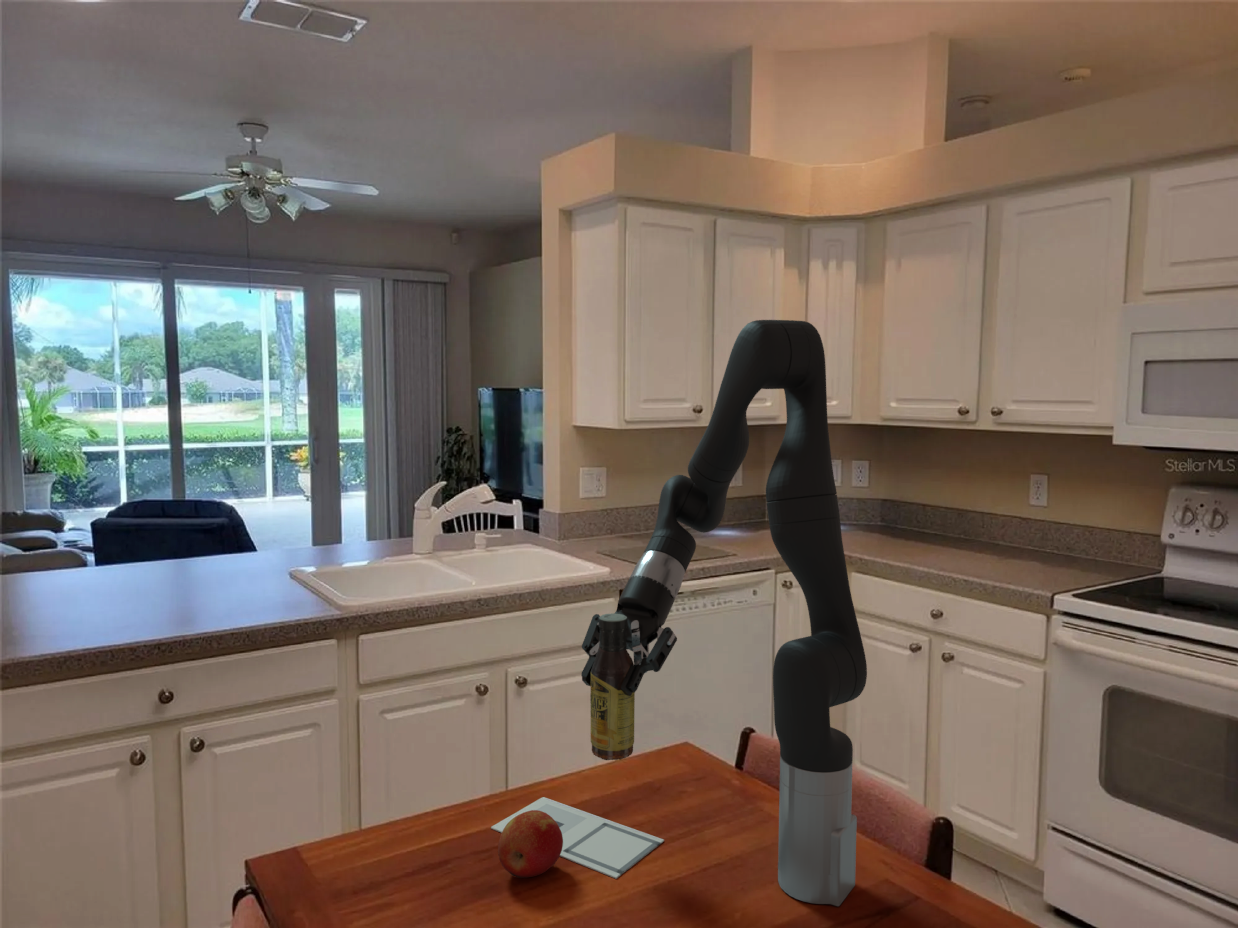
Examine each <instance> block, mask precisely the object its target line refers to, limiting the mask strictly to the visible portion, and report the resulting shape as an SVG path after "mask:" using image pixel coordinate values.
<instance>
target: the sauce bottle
mask: <svg viewBox="0 0 1238 928" xmlns="http://www.w3.org/2000/svg"><path fill="white" fill-rule="evenodd" d="M614 613H615V612H614ZM614 613H605V614H602V615H600V617H599V624H598V626H599V628H600V643H599V649H598V651H597V654H596V657H595V660H594V663H593V666H592V670H591V686H590V699H589V700H590V744H591V753H592V754H593V756H595V757H597V758H599V759H601V760H604V761H616V760H617V761H618V760H623V759H625V758H628V757H630V756H631V755H633V753H634V752H633V751H634V744H635V701H636V700H635V699H636V698H635V697H636V696H635V694H636V692H635V693H632V695H631V696H628V695H625V694H624V693H623V691H622V690H621V685H622V683H623V681H624V679H625V677H626V674H627V672H628V670H629V668H630V666H631V665H634V660H633V658H632V656H631V655H630V653H629V651H628V649H626V646H627V643H626V628H627V626H628V621H627V617H626V616H625V615H622V614H614Z"/></svg>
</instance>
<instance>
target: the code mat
mask: <svg viewBox="0 0 1238 928" xmlns="http://www.w3.org/2000/svg"><path fill="white" fill-rule="evenodd" d="M531 810H539V811H542V812H545V813H547V814H548V815H549V816H551V817H552V818H553V819H554V820H555V822H556V823H557V824H558V826H559V828H560V830H561V832H562V837H563V847H562V851H561V854H560V856H559V858H560V857H561V858H563V859H566V860H569V861H570V862H573V863H576V864H578V865H581V866H583V867H585V868H589V869H591V870H593V871H595V872H598V873H601V874H603V875H605V876H608V877H611V878H613V879H616V880H617V879H618V878H619V877H620V876H623V874H625V872H627V871H628V870H629V869H631V868H633V866H635V865H636V864H637V863H639V862H640V861H641V860H642V859H644V858H645V856H647V855H648V854H650V853H651V852H653V850H654V849H656V848H657V847H659V846H660V845H661V844H663V842H665V839H663V838H660V837H658V836H654V835H652V834H649V833H647V832H644V831H641V830H637V829H635V828H633V827H630V826H626V825H624V824H621V823H618V822H616V821H612V820H609V819H606V818H604V817H602V816H598V815H595V814H592V813H590V812H588V811H584V810H582V809H578V808H575V807H573V806H570V805H567V804H565V803H561V802H559V801H556V800H553V799H550V798H548V797H545V796H543V797H540V798H538V799H537V800H535V801H533V802H532V803H530V804H528V805H527V806H524V807H523V808H521V809H520V810H518V811H516V812H515V813H513V814H511V815H509V816H508V817H506V818H504V819H502V820H500V821H499V822H497V823H496V824H494V825H491V826H490V829H491V830H493V831H496V832H499V833H501V834H502V831H503V829H504V828H505V826H506V825H507V824H508V822H509V821H510V820H512V819H513V818H514V817H516V816H517V815H519V814H522V813H524V812H527V811H531Z"/></svg>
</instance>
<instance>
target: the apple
mask: <svg viewBox="0 0 1238 928" xmlns="http://www.w3.org/2000/svg"><path fill="white" fill-rule="evenodd" d="M562 847H563V837H562V832H561V830H560V828H559V826H558V824H557V823H556V822H555V820H554V819H553V818H552V817H551V816H549V815H548V814H547V813H545V812H542V811H539V810H531V811H527V812H524V813H522V814H519V815H517V816H516V817H514V818H513V819H512V820H510V821H509V822H508V824H507V825H506V826H505V828H504V829H503V831H502V833H501V834H500V836H499V840H498V846H497V850H498V851H497V853H498V859H499V861H500V864H501V866H502V867H503V869H505V871H507V873H509V874H510V875H511V876H513V877H515V878H518V879H528V878H532V877H536V876H540V875H542V874H543V873H545V872H546V871H548V870H549V869H550V868H551V867H553V866H554V865H555V863H556V862H557V861H558V860H559V858H560V854H561V851H562Z"/></svg>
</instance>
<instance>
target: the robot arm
mask: <svg viewBox="0 0 1238 928" xmlns="http://www.w3.org/2000/svg"><path fill="white" fill-rule="evenodd" d="M826 370H827V368H826V354H825V348H824V344H823V341H822V337H821V335H820V332H819V331H818V329H817V328H816V326H814V325H813V323H810V322H809V321H804V320H791V319H790V320H788V319H759V320H758V319H756V320H752V321H750V322H748V323H747V324H746V325H745V326H744V327H743V328H742V329H741V330H740V331H739V333H738V335H737V336H736V339H735V341H734V343H733V347H732V348H731V351H730V353H729V358H728V361H727V365H726V367H725V370H724V374H723V377H722V381H721V384H720V387H719V390H718V392H717V393H718V394H717V397H716V401H715V404H714V408H713V411H712V414H711V417H710V419H709V422H708V425H707V427H706V429H705V431H704V433H703V435H702V437H701V439H700V441H699V443H698V445H697V446H696V448H695V450H694V451H693V452H694V453H693V454H692V456H691V458H690V461H689V463H688V466H687V473H688V476H689V477H688V476H687V475H683V474H676V475H673V476H672V477H669V479H667V480H666V481H665V483H664V484H663V487H662V489H661V492H660V496H659V501H658V510H657V516H656V522H655V526H654V529H653V532H652V535H651V536H650V539H649V541H648V543H647V545H646V546H645V549H644V551H643V553H642V555H641V557H640V558H639V559H638V561H637V562H636V565H635V566H634V568H633V570H632V571H631V574H630V575H629V579H628V581H627V582H626V585H625V586H624V588H623V591H622V592H621V594H620V597H619V599H618V601H617V607H616V610H615V612H614V614H622V615H625V616H626V617H627V621H628V626H627V628H626V643H627V646H626V650H628V651H631V652H632V653H633V664H634V665H631V666H630V668H629V670H628V672H627V674H626V677H625V679H624V681H623V683H622V685H621V690H622V691H623V693H624V694H625V695H628V696H631V695H632V693H635V694H636V692H637V691H638V688H639V686H640V683H641V681H642V679H643V678H644V675H645V674H646V673H648V672H649V671H651V672H654V673H657V672H660V671H661V669H662V667H663V666H664V664H665V662H666V660H667V659H668V656H669V655H670V653H671V651H672V650H673V648H674V646H675V645H676V642H677V641H678V638H677V635H676V634H675V633H674V631H673V630H672V628H671V627H669V626H665V627H664V628H662V626H663V625H665V623H666V620H667V618H668V616H669V614H670V612H671V610H672V607H673V605H674V603H675V601H676V599H677V596H678V594H679V592H680V589H681V586H682V584H683V581H684V577H685V574H686V571H687V570H688V568H689V565H690V562H691V561H692V559H693V556H694V554H695V552H696V548H697V542H696V539H695V537H694V536H693V535H692V534H691V533H690V532H689V531H688V530H687V529H686V528H685V527H683V526H682V524H683V525H685V526H687V527H689V528H691V529H693V530H694V531H696V532H700V533H709V532H712V531H713V530H715V529H717V528H718V527H719V525H720V523H721V521H722V520H723V517H724V513H725V509H726V503H727V495H728V492H729V491H728V490H729V488H730V484H731V483H732V481H733V479H734V477H735V475H736V474H737V473H738V470H739V468H740V467H741V466H742V463H743V461H744V460H745V458H746V455H747V454H748V450H749V446H750V432H749V431H750V430H749V425H748V420H747V419H748V418H747V410H748V407H749V406H750V404H751V403H752V401H753V400H754V398H755V397H756V396H757V394H758V393H759V392H760V391H761V390H783V391H784V397H785V398H784V399H785V407H786V426H785V431H784V435H783V439H782V440H781V441H782V442H781V444H780V447H779V449H778V451H777V453H776V455H775V459H774V461H773V463H772V465H771V468H770V470H769V474H768V477H767V479H766V484H765V498H766V499H765V501H766V508H767V516H768V523H769V531H770V536H771V539H772V542H773V544H774V546H775V548H776V550H777V552H778V554H779V556H781V558H782V560H783V562H784V563H785V565H786V566H787V568H788V569H789V570H790V572H791V574H792V575H793V577H794V578H795V580H796V582H797V583H798V585H799V586H800V588H801V590H802V593H803V596H804V598H805V603H806V605H807V610H808V616H809V624H810V636H805V637H800V638H795V639H791V640H788V641H786V642H785V643H783V644H782V645H781V646H780V647H779V648H778V650H777V653H776V655H775V657H774V662H773V668H772V670H773V671H772V691H773V715H774V716H773V717H774V718H773V721H774V729H775V734H776V736H777V740H778V743H779V750H780V751H779V793H778V794H779V797H778V798H779V800H778V801H779V803H778V804H779V805H778V807H779V808H778V846H777V847H778V855H777V857H778V859H777V860H778V861H777V869H778V870H777V882H778V885H779V888H781V890H782V891H783V892H784V893H786V894H787V895H788V896H790V897H792V898H794V899H796V900H799V901H802V902H804V903H810V904H816V905H832V906H834V907H840V906H841V905H842V903H843V902H844V901H845V900H846V898H847V897H848V895H849V894H850V892H851V891H852V890H853V889H854V888H855V886H856V868H857V867H856V864H857V863H856V861H857V860H856V859H857V858H856V857H857V853H856V852H857V824H858V823H857V822H858V819H857V816H856V815H855V814H854V813H853V814H852V804H853V803H852V801H853V800H852V797H853V796H852V795H853V794H852V793H853V791H852V790H853V759H854V758H853V757H854V755H853V753H854V751H853V750H854V749H853V742H852V739H851V738H850V736H848V735H847V733H845V732H843V731H841V730H839V729H837V728H834V727H832V726H831V719H830V717H831V715H830V708H833V707H836V706H839V705H843V704H846V703H848V702H851V701H854V700H856V699H857V698H859V697H860V695H862V693H863V691H864V689H865V687H866V684H867V678H868V671H867V670H868V664H867V658H866V654H865V652H866V651H865V648H864V644H863V640H862V636H861V635H862V634H861V630H860V627H859V622H858V620H857V615H856V609H855V606H854V602H853V596H852V591H851V588H850V581H849V575H848V567H847V562H846V557H845V556H846V555H845V550H844V542H843V537H842V536H843V535H842V527H841V515H840V509H839V508H840V506H839V500H838V495H837V487H836V483H835V476H834V468H833V460H832V451H831V443H830V435H829V433H830V432H829V423H828V398H827V397H828V396H827V395H828V394H827V375H826V374H827V371H826ZM600 616H601V615H600V614H598V613H596V614H593V616H592V618H591V619H590V620H591V621H590V622H589V625H588V627H587V631H586V633H585V637H584V639H583V641H582V644H581V648H582V650H583V652H584V653H585V654H586V655H587V656H588V659H587V661H586V663H585V665H584V667H583V670H582V671H581V680H582V682H583V683H584V684H585V685H586V686H587V687H588V686H589V687H591V670H592V666H593V663H594V660H595V657H596V654H597V651H598V649H599V643H600V628H599V626H598V624H599V617H600ZM655 640H656V641H655ZM654 641H655V643H654V645H653V647H652V648H651V650H650V644H651V643H652V642H654Z"/></svg>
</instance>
